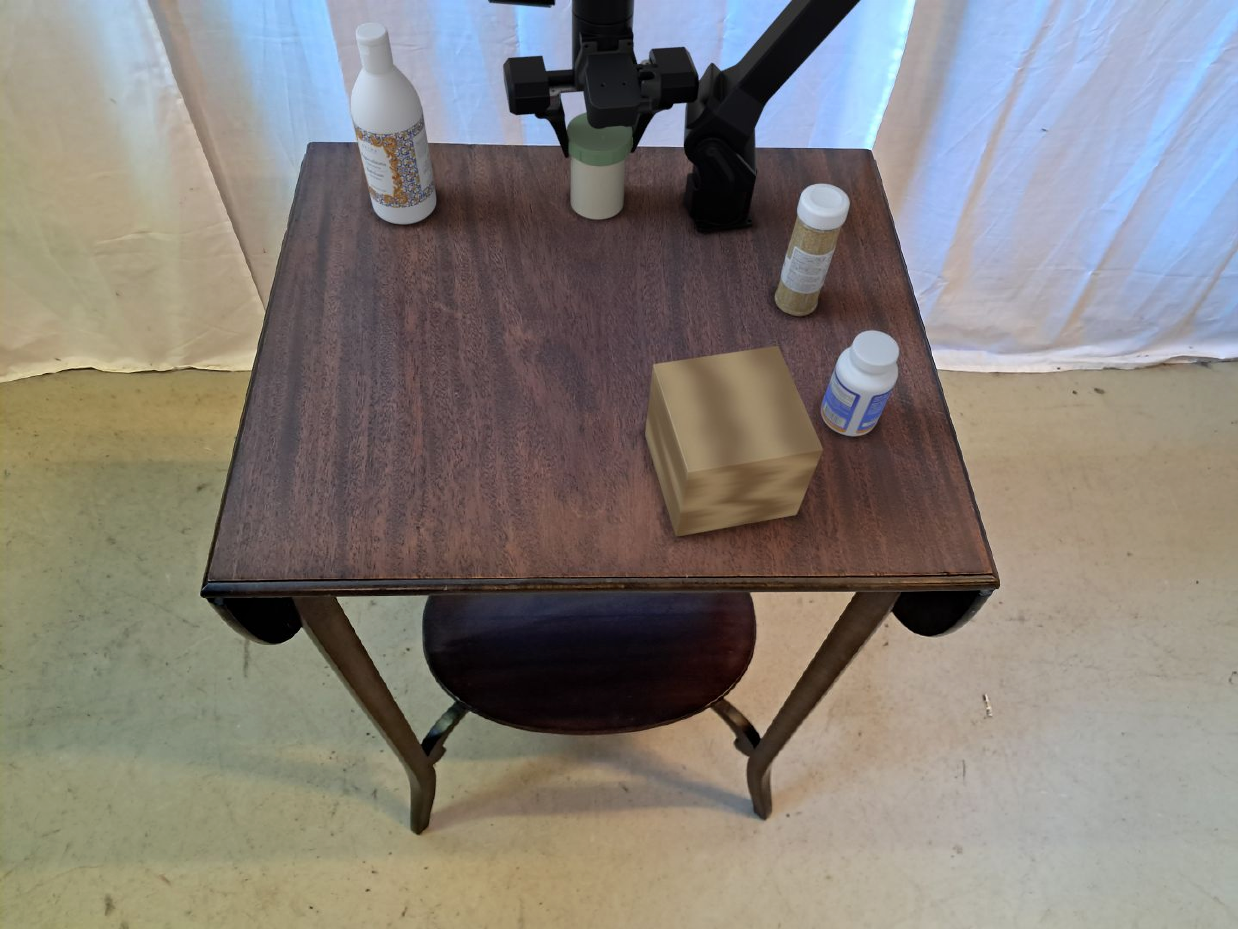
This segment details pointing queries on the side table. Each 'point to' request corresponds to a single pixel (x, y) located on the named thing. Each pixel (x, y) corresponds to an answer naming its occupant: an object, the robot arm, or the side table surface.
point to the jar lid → (598, 142)
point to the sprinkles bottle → (811, 248)
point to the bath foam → (391, 133)
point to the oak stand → (729, 439)
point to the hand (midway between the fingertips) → (598, 153)
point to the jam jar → (597, 189)
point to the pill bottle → (861, 384)
